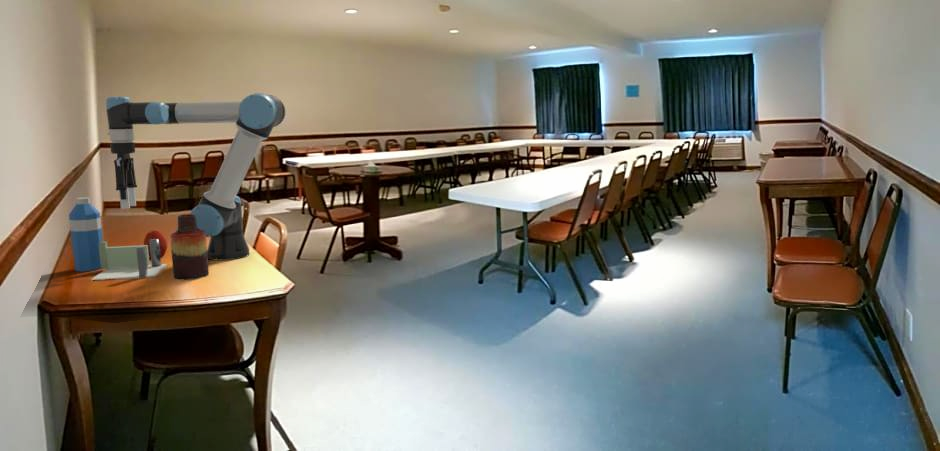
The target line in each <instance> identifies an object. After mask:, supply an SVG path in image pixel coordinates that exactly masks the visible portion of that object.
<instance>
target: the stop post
mask: <svg viewBox="0 0 940 451" xmlns="http://www.w3.org/2000/svg"><path fill="white" fill-rule="evenodd" d="M136 249H137V259H138V269H139V278H138V279H146V277H143V276H146V275H147V264H146V254H145V247H138V248H136ZM140 276H141V277H140Z"/></svg>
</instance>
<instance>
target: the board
mask: <svg viewBox="0 0 940 451" xmlns="http://www.w3.org/2000/svg"><path fill="white" fill-rule="evenodd" d="M168 265H169V264H168V263H161V266H158V267H152V264H150V265H148V266H147V275H146V276H143V277H146V278H147V279H149V278H155V277H156V276H157V275H159V274H160V272H162V271H163V270H164V269H165V268H166V267H168ZM140 277H141V276H140ZM146 278H145V279H146ZM105 279H115V280H129V279H140V278H139V269H138V266H136V267H117V268H105V270H102V271H101V272H100V273H98V274H97V275H95V276H93V277H92V278H91V279H90V280H91V282H93V280H98V281H106V280H105Z"/></svg>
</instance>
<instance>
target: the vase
mask: <svg viewBox="0 0 940 451" xmlns="http://www.w3.org/2000/svg"><path fill="white" fill-rule="evenodd" d="M176 220H177V222H176V223H177V224H176V225H177V226H176V227H177V229H176V230H174V231H172V232H171V233H169V234H170V235H169V238H170V239H169V240H170V248H171V249H170V250H171V252H170V253H171V261H172V274H173V278H174V279H175V280H182V281H183V280H196V279H200V278H201V277H202V278H205V277H207V276H209V275H210V273H209V260H208V257H207V249H208V246H207V237H206V234H205V231H204V230H201V229H198V228H197V223H196V217H195V215H194V214H190V213H189V214H188V213H187V214H184V213H183V214H178V215H177V219H176ZM202 278H201V279H202Z"/></svg>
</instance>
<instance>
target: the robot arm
mask: <svg viewBox="0 0 940 451" xmlns="http://www.w3.org/2000/svg"><path fill="white" fill-rule="evenodd" d="M105 102H106V108H105V111H106V116H107V125H108V132H107V136H109V141H110V142H111V143H110V144H109V146H110V153H111V154H112V155H113V154H116V159H115V160H114V161H113V163H114V173H115V186H116V187H115V190H116V191H119V192H118V193H119V203H120V209H121V210H129V209H131V207H137V199H136V198H137V197H136V189H135V188H137V187H138V184H137V181H136V173H135V172H136V171H135V167H134V165H135V164H134V158H133V157H131V155H130V154H134V153H136V146H135V143H134V141H135V135H134V126H133V125H155V126H156V125H175V124H176V125H180V124H182V125H183V124H226V123H228V124H233V123H234V124H235V125H236V128H237V131H236V133H235V136H234V138H233V140H232V141H231V142H232V143H231V145H230V146H229V148H228V151H227V153H226V155H225V157H224V159H223V161H222V163H221V165H220V169H219V170H218V172H217V175H216V177H215V179H214V181H213V183H212V185H211V188H210V190H208V191H204V192H203V194H202V196H201V199H200V201H199V203H198V204H197V205H196V206H195V207H194V208H192V210H190V213H189V214H194V215H195V217H196V223H197V228H198V229H201V230H204V231H205V234H206V238H209V242H208V246H207V257H208V259H209V260H216V261H217V260H218V261H224V260H226V261H227V260H234V259H241V258H245V256H246V257H248V256H249V255H250V248H249V245H248V243H247V241H246V238H245V236H244V229H243V228H244V225H243V213H242V212H243V211H242V202H241V197H240V196H238V192H239V190H240V188H241V186H242V184H243V183H244V180H245V177H246V175H247V173H248V172H249V169H250V167H251V164H252V162H253V160H254V159H255V157H256V154H257V153H258V149H259V147H260V146H261V143H262V141H265V140H267V139H268V138H269V137H270V134H271V132H272V130H273V129H274V128H276V127H278V126H280V125H281V123H282V122H283V121H284V119H285V117H286V108H285V104H284V103H283V101H282V100H281V99H279V98H278V97H277V96H274V95H272V94H264V93H258V92H257V93H253V94H250V95H247V96H246V97H245V98H243V99H242V100H241V101H207V102H205V101H204V102H162V101H161V102H158V101H150V102H147V101H145V102H131V98H130V97H128V96H109V97H107V98H106V100H105ZM247 255H248V256H247Z"/></svg>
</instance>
